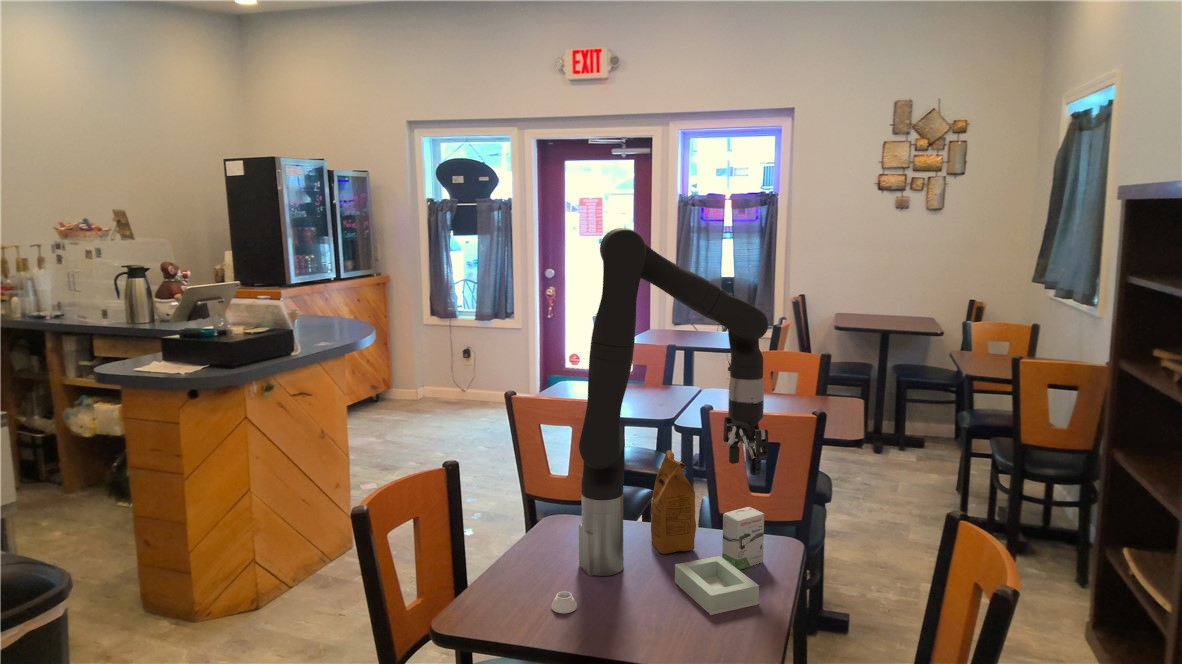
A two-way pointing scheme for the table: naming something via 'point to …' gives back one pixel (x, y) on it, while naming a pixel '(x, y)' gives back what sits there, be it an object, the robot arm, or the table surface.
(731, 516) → the ink box
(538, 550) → the table surface
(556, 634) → the table surface
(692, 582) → the pale green rectangular frame
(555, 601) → the lidless jar
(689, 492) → the coffee package
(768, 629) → the table surface
